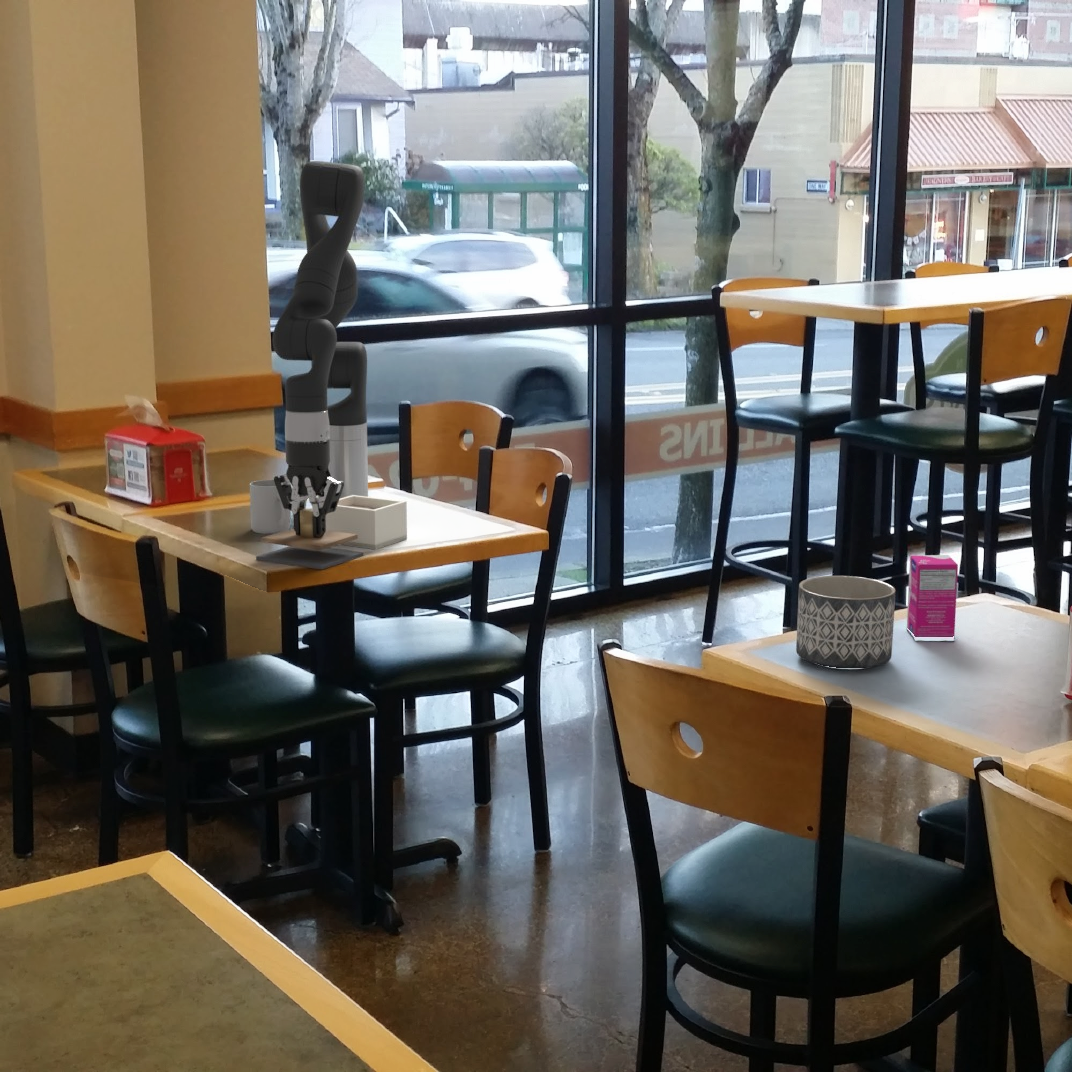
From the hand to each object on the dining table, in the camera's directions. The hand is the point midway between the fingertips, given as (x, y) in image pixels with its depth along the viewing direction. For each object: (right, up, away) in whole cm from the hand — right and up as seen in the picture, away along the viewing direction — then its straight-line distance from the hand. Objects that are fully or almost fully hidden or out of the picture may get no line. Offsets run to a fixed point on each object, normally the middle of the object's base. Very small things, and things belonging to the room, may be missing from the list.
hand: (310, 535), depth 261 cm
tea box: (+8, -1, +15) cm, 16 cm away
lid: (0, -1, 0) cm, 1 cm away
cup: (-10, +1, +22) cm, 24 cm away
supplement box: (+95, -15, -44) cm, 106 cm away
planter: (+81, -17, -56) cm, 100 cm away
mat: (0, -4, +1) cm, 4 cm away
